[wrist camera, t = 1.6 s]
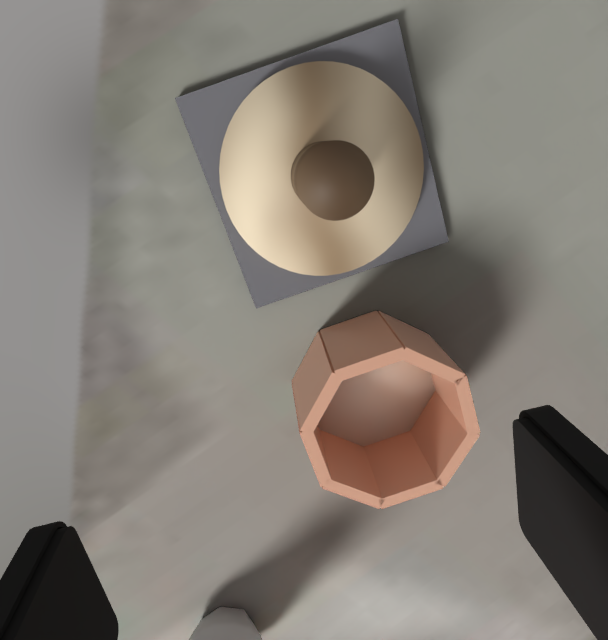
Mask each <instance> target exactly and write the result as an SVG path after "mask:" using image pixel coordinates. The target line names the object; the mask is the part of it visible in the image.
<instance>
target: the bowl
mask: <svg viewBox="0 0 608 640" xmlns="http://www.w3.org/2000/svg"><path fill="white" fill-rule="evenodd" d="M292 388H293V394H294V400H295V407H296V413H297V419H298V426H299V432H300V435H301V438H302V440H303V443H304V445H305V448H306V450H307V453H308V456H309V458H310V461H311V463H312V466H313V468H314V471H315V474H316V476H317V479H318V481H319V484H320V486H321V487H322V488H323V489H325V490H328V491H331V492H334V493H336V494H339V495H342V496H345V497H347V498H350V499H353V500H356V501H358V502H361V503H364V504H367V505H369V506H372V507H375V508H378V509H380V507H381V508H382V509H384V508H386V507H389V506H392V505H395V504H398V503H401V502H404V501H407V500H410V499H413V498H416V497H419V496H422V495H425V494H428V493H431V492H434V491H437V490H440V489H443V486H444V487H445V486H446V485H447V483H448V482H449V481H450V479H451V478H452V476H453V475H454V473H455V472H456V470H457V469H458V467H459V466H460V464H461V463H462V461H463V460H464V458H465V457H466V455H467V454H468V452H469V451H470V449H471V448H472V446H473V445H474V443H475V442H476V440H477V439H478V437H479V436H480V435H479V433H480V429H479V425H478V421H477V416H476V412H475V408H474V404H473V400H472V396H471V391H470V387H469V383H468V379H467V376H466V375H465V373H464V372H463V371H462V370H461V369H460V368H459V367H458V366H457V365H456V364H455V362H454V361H453V360H452V359H451V358H450V357H449V356H448V355H447V354H446V353H445V352H444V351H443V349H442V348H441V347H440V346H439V345H438V344H437V343H436V342H435V341H434V340H433V339H432V338H431V336H430V335H429V334H427V333H425V332H423V331H421V330H419V329H417V328H415V327H413V326H410V325H408V324H406V323H404V322H402V321H400V320H398V319H395V318H393V317H391V316H389V315H387V314H385V313H383V312H381V311H378V312H377V311H373V312H370V313H367V314H364V315H361V316H358V317H355V318H353V319H350V320H347V321H344V322H341V323H338V324H335V325H332V326H329V327H326V328H324V329H321V330H320V332H319V331H318V332H317V334H316V336H315V338H314V340H313V342H312V344H311V345H310V347H309V349H308V351H307V353H306V355H305V357H304V359H303V360H302V362H301V364H300V366H299V368H298V370H297V372H296V374H295V375H294V377H293V379H292Z"/></svg>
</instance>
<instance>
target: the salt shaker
mask: <svg viewBox="0 0 608 640" xmlns="http://www.w3.org/2000/svg"><path fill="white" fill-rule="evenodd" d="M189 640H262V638H261V635H260V633H259V632H258V630H257V629H256V627H255V625H254V623H253V622H252V620H251V619H250V618H249V616H248V615H247V613H246V612H245V610H244V609H237V608H227V607H219V608H217V609H216V610H214V611H213V612H212V613H210V614H209V615H207V616H206V617H204V618H203V619H201V621H200V623H199V624H198V626H197V627H196V629H195V631H194V632H193V634H192V635H191V637H190V639H189Z"/></svg>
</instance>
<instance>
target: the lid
mask: <svg viewBox="0 0 608 640" xmlns="http://www.w3.org/2000/svg"><path fill="white" fill-rule="evenodd" d="M423 173H424V161H423V151H422V144H421V140H420V136H419V133H418V130H417V127H416V125H415V122H414V120H413V118H412V116H411V114H410V112H409V111H408V109H407V107H406V106H405V104H404V103H403V102H402V100H401V99H400V98H399V97H398V95H397V94H396V93H395V92H394V91H393V90H392V89H391V88H390V87H389V86H388V85H386V84H385V83H384V82H383V81H381V80H380V79H378V78H377V77H376V76H374V75H373V74H371V73H369V72H367V71H365V70H363V69H361V68H358V67H355V66H352V65H349V64H344V63H339V62H333V61H315V62H307V63H302V64H298V65H295V66H291V67H288V68H286V69H284V70H282V71H279V72H277V73H275V74H274V75H272V76H271V77H269V78H267V79H266V80H264V81H263V82H262V83H261V84H259V85H258V86H257V87H256V88H255V89H253V90H252V92H251V93H250V94H249V95H248V96H247V97H246V98H245V99H244V100H243V102H242V103H241V105H240V106H239V108H238V109H237V110H236V112H235V114H234V115H233V117H232V119H231V121H230V123H229V125H228V128H227V131H226V134H225V136H224V139H223V144H222V148H221V153H220V164H219V175H220V186H221V192H222V197H223V200H224V204H225V207H226V210H227V212H228V214H229V217H230V219H231V221H232V223H233V225H234V226H235V228H236V229H237V231H238V233H239V234H240V235H241V237H242V238H243V239H244V240H245V241H246V243H247V244H248V245H249V246H250V247H251V248H252V249H253V250H254V251H255V252H256V253H258V254H259V255H260V256H262V257H263V258H265V259H266V260H267V261H269V262H271V263H273V264H275V265H276V266H278V267H281V268H283V269H286V270H288V271H291V272H295V273H299V274H304V275H313V276H328V275H335V274H341V273H345V272H348V271H352V270H354V269H357V268H359V267H361V266H364V265H366V264H367V263H369V262H371V261H373V260H374V259H376V258H377V257H378V256H380V255H381V254H382V253H384V252H385V251H386V250H387V249H388V248H389V247H390V246H391V245H392V244H393V243H394V242H395V241H396V240H397V239H398V238H399V236H400V235H401V234H402V233H403V231H404V230H405V228H406V226H407V225H408V223H409V222H410V220H411V218H412V216H413V213H414V211H415V209H416V206H417V203H418V200H419V197H420V193H421V189H422V184H423Z"/></svg>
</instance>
